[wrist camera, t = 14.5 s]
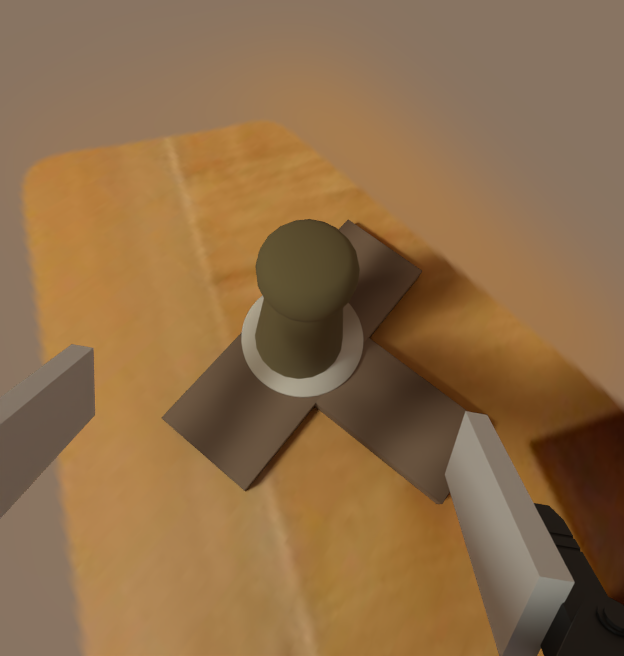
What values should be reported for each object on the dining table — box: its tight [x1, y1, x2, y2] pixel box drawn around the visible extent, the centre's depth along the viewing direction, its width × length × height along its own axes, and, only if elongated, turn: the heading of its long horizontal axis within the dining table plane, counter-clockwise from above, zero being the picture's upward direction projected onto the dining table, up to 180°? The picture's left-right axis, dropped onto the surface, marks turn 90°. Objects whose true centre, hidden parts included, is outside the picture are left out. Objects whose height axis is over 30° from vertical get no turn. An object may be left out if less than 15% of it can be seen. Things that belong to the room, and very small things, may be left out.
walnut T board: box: [162, 220, 468, 504], centre depth 32 cm, size 18×20×1 cm
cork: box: [255, 219, 360, 379], centre depth 27 cm, size 6×6×11 cm
